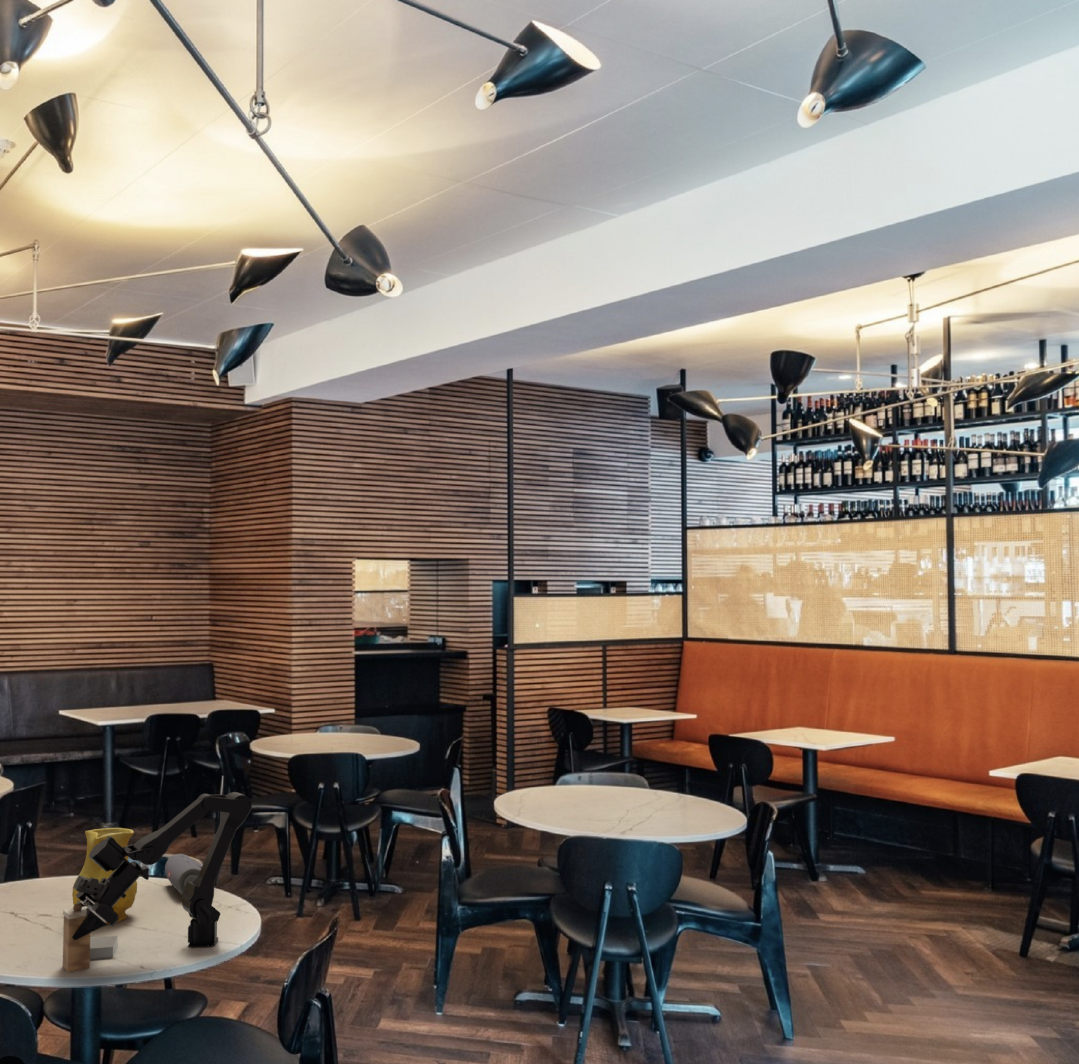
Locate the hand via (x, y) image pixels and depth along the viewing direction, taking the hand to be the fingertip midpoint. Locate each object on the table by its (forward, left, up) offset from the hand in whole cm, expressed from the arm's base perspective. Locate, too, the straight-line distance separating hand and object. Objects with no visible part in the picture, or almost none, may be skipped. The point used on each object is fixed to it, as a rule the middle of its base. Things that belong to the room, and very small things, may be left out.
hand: (70, 936), depth 267 cm
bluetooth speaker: (-12, -71, -8) cm, 72 cm away
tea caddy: (-1, -1, -8) cm, 8 cm away
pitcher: (+4, -44, -8) cm, 45 cm away
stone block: (-2, -12, -8) cm, 14 cm away
